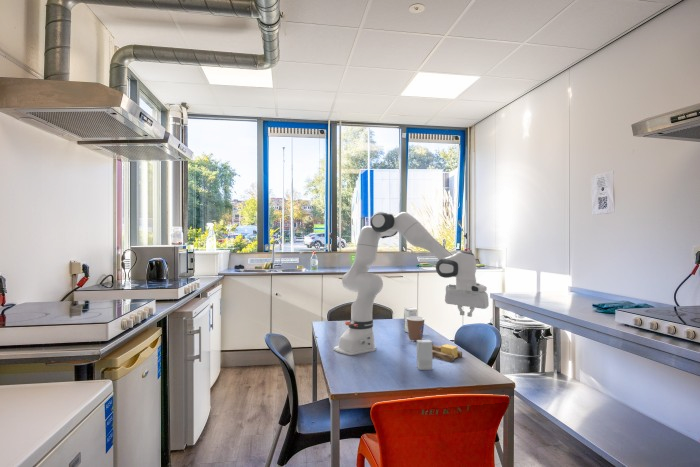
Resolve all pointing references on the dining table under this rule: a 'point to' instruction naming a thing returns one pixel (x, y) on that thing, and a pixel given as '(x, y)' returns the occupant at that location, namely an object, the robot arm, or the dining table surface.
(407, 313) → the syrup box
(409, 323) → the coffee cup
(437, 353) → the chute
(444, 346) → the ochre block
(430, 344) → the skincare box
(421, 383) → the dining table surface
